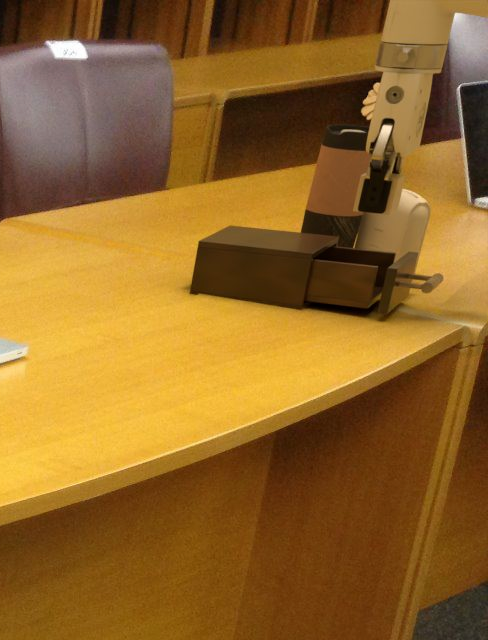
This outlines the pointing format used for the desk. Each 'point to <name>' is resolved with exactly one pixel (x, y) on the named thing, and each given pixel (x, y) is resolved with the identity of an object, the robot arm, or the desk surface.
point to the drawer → (365, 278)
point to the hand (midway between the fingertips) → (375, 208)
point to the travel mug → (337, 184)
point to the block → (393, 195)
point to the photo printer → (396, 227)
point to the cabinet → (258, 265)
